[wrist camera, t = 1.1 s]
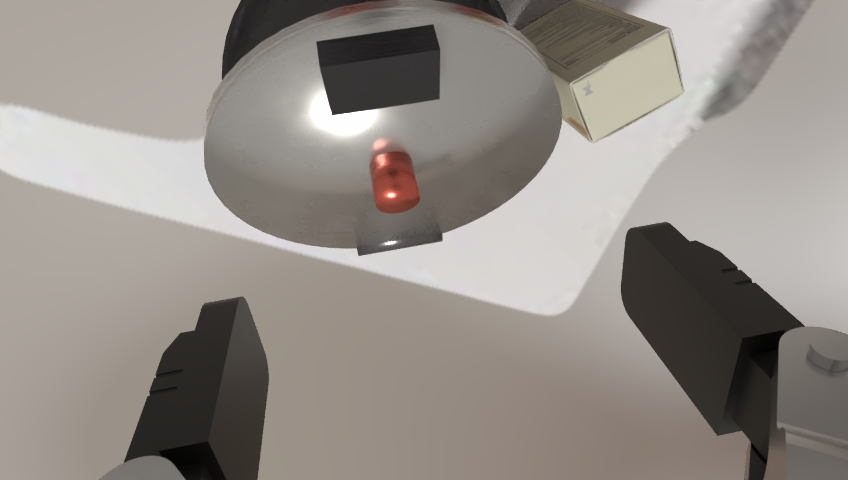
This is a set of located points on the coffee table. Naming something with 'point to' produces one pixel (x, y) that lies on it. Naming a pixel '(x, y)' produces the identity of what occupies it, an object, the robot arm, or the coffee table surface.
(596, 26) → the skincare box
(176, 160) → the coffee table surface
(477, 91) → the cooker lid
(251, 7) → the cooker pot
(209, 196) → the coffee table surface
